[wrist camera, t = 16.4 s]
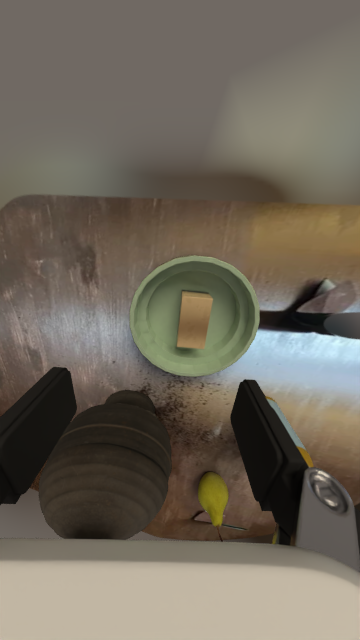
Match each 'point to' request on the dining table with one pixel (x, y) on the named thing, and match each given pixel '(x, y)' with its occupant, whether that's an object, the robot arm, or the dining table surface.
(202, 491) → the fruit
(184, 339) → the eraser
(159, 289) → the green bowl
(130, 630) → the robot arm
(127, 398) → the pot
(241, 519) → the dining table surface
